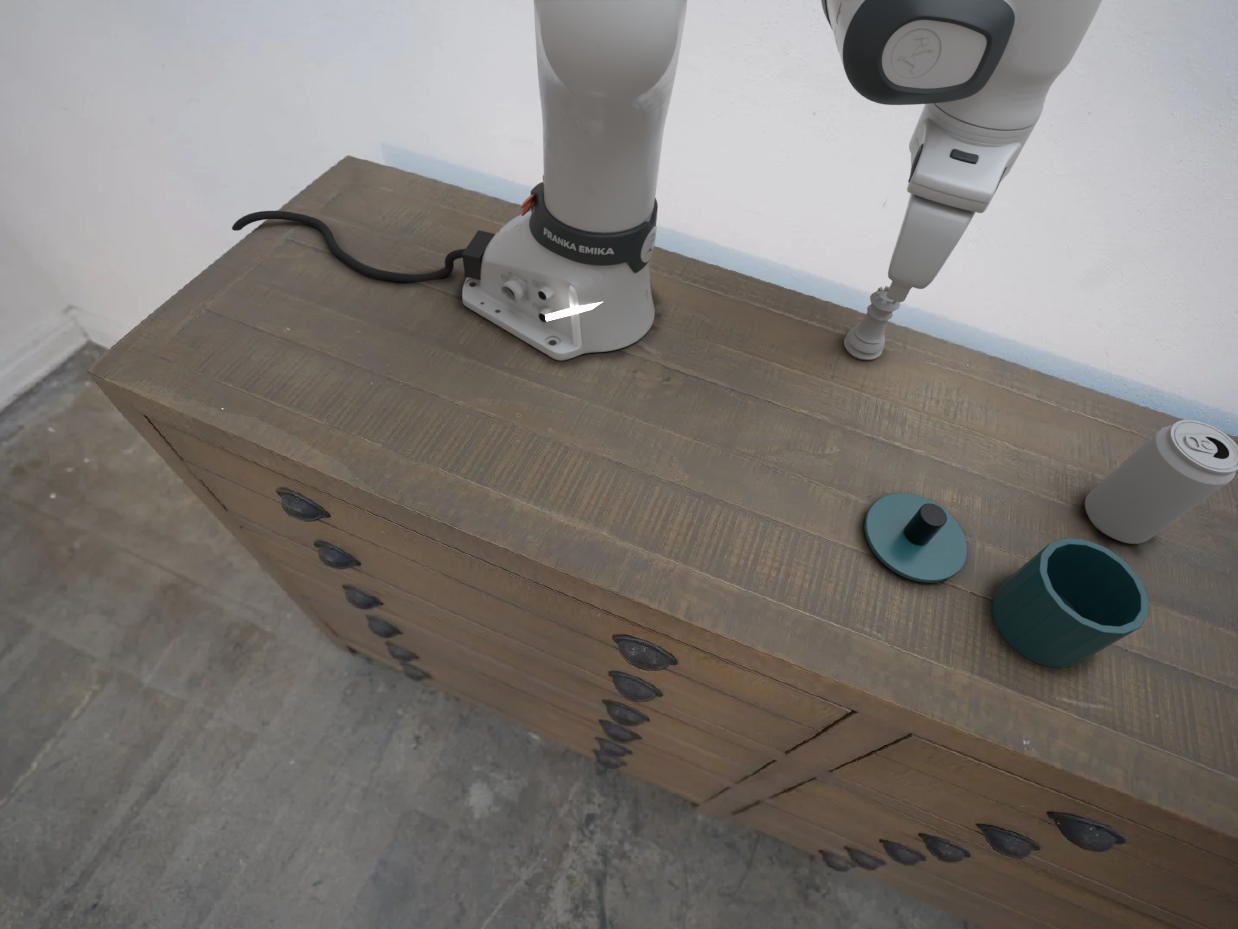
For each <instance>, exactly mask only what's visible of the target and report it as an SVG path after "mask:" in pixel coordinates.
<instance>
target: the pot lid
mask: <svg viewBox="0 0 1238 929" xmlns="http://www.w3.org/2000/svg"><path fill="white" fill-rule="evenodd" d="M864 533H865V534H864V535H865V537H866V538H865V539H866V541H867V543H868V545H869V548H870V550H872V552H873V553H874V555H875V556H876V558H877V559H879V561H880V562H881V563H882V564H884V566H885V567H887V568H888V569H890V570H891V571H892V572H894V573H895V574H897V575H899V576H901V577H903V578H906V579H909V580H911V581H915V582H920V583H926V584H927V583H928V584H929V583H930V584H933V583H940V582H944V581H947V580H949V579H951V578H952V577H954V576H956V575H957V574H958V572H959V571H961V570H962V568H963V567H964V566H965V563H966V561H967V558H968V542H967V538H966V535H965V533H964V531H963V528H962V527H961V525H960V523H959V522H958V521H957V519H955V517H954V516H953V515H952V514H951V513H950V512H949V511H947V509H946V508H944V507H943V506H942V505H940V504H938V503H937V502H935V501H933V500H931V499H929V498H927V497H925V496H921V495H919V494H914V493H909V492H908V493H907V492H896V493H890V494H887V495H885V496H883V497H881V498H879V499H877V500H876V501H875V502H874V503H873V504H872V505H871V506H870V508H869V509H868V511H867V513H866V515H865V519H864Z"/></svg>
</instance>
